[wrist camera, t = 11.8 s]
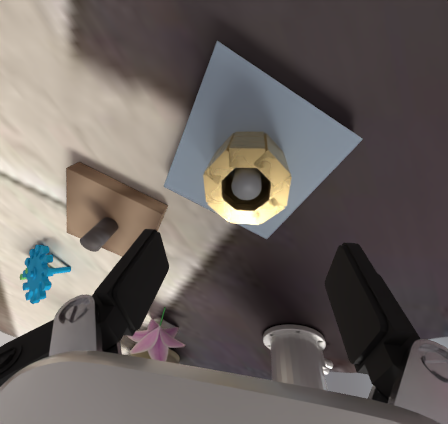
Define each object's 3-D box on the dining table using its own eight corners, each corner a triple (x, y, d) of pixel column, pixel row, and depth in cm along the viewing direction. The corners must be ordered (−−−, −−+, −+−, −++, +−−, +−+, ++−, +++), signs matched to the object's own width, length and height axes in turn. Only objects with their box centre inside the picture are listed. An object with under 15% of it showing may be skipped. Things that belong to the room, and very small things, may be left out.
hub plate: (353, 133, 18) (392, 156, 13) (266, 229, 26) (268, 267, 21) (221, 44, 16) (202, 28, 10) (170, 179, 24) (144, 208, 18)
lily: (131, 301, 45) (116, 349, 41) (145, 306, 36) (127, 370, 32) (178, 306, 51) (169, 350, 47) (200, 312, 42) (190, 367, 38)
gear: (45, 241, 32) (39, 306, 30) (84, 241, 37) (82, 296, 35) (18, 247, 37) (12, 303, 35) (56, 246, 42) (52, 295, 40)
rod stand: (168, 205, 26) (147, 235, 21) (147, 255, 33) (128, 286, 28) (79, 161, 24) (34, 183, 19) (76, 224, 31) (43, 251, 26)
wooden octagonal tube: (287, 131, 17) (296, 148, 13) (278, 196, 21) (283, 226, 17) (213, 131, 18) (200, 148, 14) (217, 194, 22) (208, 221, 17)
